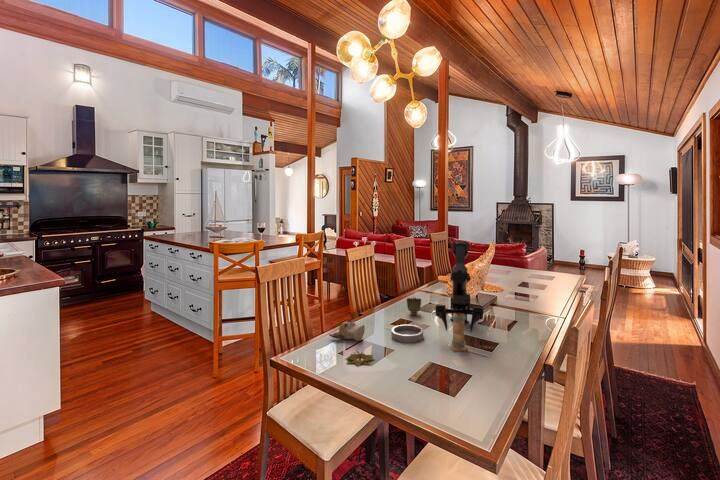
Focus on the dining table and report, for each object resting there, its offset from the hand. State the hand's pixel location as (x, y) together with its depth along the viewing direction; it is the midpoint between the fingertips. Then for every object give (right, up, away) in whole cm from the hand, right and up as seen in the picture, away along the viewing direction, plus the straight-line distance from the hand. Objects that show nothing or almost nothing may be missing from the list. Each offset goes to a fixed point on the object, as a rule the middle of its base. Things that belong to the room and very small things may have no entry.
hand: (458, 331), depth 151 cm
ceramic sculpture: (-43, -7, +14) cm, 46 cm away
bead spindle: (0, -7, +2) cm, 8 cm away
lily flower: (-39, -10, -7) cm, 41 cm away
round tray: (-18, -6, +15) cm, 25 cm away
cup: (-11, -2, +45) cm, 47 cm away
